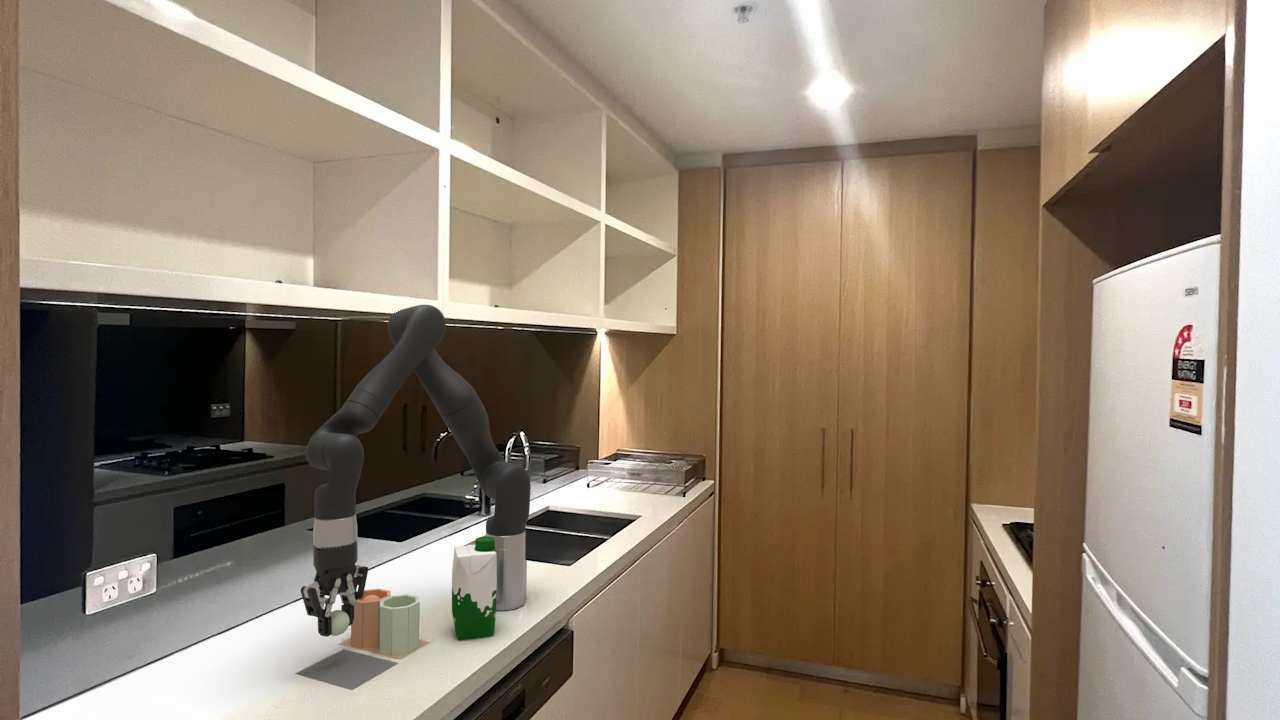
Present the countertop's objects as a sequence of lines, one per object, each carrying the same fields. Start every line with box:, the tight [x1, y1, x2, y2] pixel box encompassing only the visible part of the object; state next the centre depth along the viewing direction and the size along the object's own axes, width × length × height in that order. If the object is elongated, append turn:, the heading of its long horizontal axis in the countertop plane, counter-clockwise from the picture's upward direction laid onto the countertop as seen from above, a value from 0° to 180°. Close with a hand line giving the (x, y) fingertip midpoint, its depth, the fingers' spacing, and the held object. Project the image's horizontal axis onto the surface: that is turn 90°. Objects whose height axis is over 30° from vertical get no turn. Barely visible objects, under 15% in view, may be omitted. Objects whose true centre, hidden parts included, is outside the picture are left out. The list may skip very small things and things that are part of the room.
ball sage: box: [330, 609, 350, 637], centre depth 124 cm, size 4×4×4 cm
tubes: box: [338, 588, 431, 661], centre depth 133 cm, size 8×16×10 cm, turn 67°
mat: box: [294, 648, 399, 691], centre depth 123 cm, size 11×14×1 cm
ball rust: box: [362, 595, 381, 602], centre depth 136 cm, size 4×4×4 cm
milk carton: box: [451, 535, 497, 642], centre depth 139 cm, size 9×9×20 cm
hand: (336, 629), depth 124 cm, fingers closed on ball sage, 4 cm apart
